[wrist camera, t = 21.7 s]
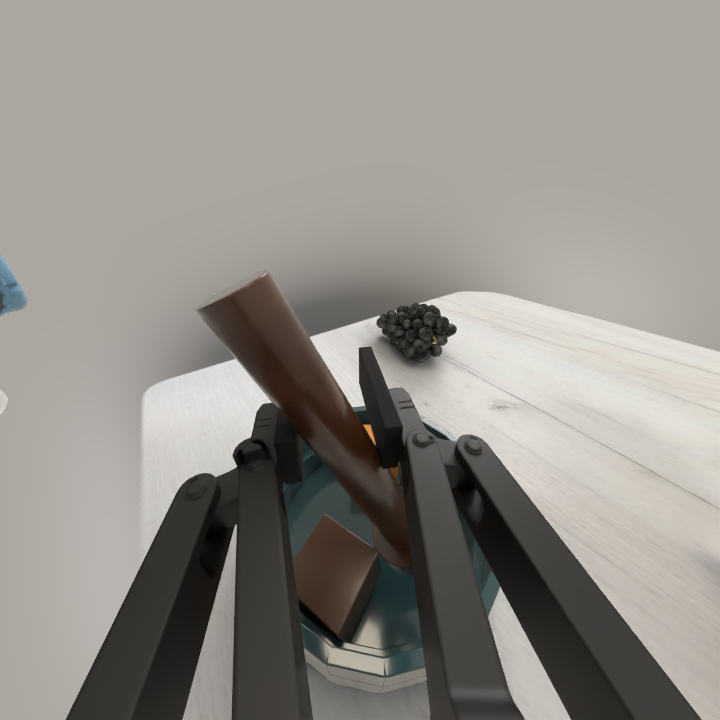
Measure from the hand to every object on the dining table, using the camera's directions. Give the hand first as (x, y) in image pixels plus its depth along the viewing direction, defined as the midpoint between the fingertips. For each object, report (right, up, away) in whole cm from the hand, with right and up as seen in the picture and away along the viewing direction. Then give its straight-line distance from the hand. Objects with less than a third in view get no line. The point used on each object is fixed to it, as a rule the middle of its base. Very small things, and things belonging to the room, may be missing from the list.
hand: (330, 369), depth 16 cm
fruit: (+10, +3, +28) cm, 30 cm away
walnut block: (+1, -14, +1) cm, 14 cm away
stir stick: (+5, -11, 0) cm, 12 cm away
